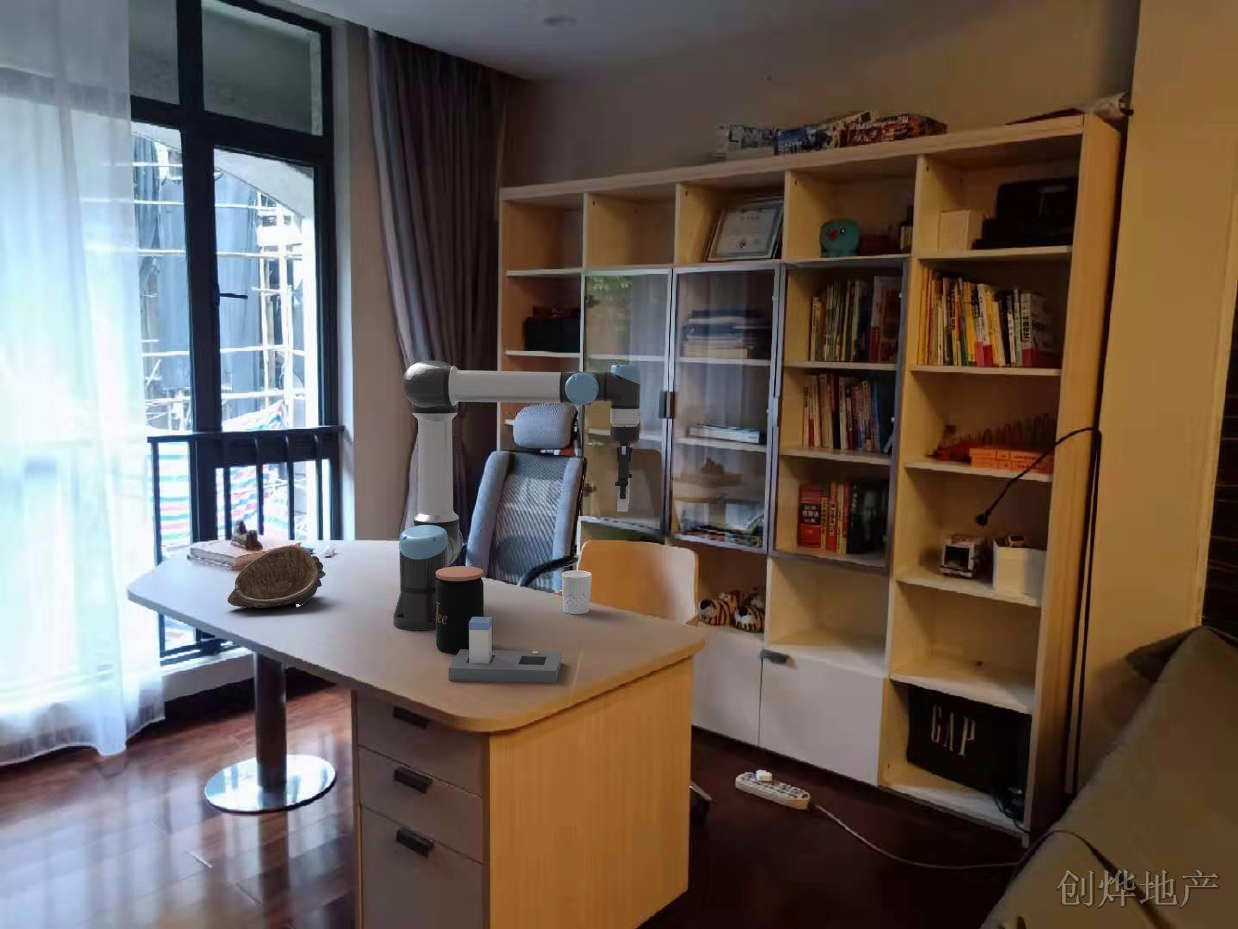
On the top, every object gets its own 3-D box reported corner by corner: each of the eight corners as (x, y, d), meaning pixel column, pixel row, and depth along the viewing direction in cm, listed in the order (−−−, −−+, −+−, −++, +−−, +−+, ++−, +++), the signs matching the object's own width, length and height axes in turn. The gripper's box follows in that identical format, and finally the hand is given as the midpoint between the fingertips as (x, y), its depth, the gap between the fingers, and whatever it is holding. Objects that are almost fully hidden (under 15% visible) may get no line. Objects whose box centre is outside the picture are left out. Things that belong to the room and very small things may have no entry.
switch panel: (448, 682, 187) (448, 666, 186) (460, 662, 198) (460, 648, 198) (555, 685, 186) (556, 669, 186) (561, 665, 198) (561, 650, 197)
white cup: (587, 616, 235) (587, 578, 234) (557, 614, 237) (558, 576, 236) (594, 608, 243) (594, 571, 242) (565, 606, 245) (565, 569, 244)
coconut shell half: (234, 621, 228) (332, 583, 238) (215, 569, 234) (311, 534, 244) (243, 642, 241) (336, 605, 250) (225, 592, 246) (316, 558, 256)
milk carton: (469, 673, 190) (468, 622, 189) (472, 667, 194) (472, 616, 193) (488, 674, 190) (488, 622, 189) (491, 667, 194) (491, 617, 193)
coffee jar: (438, 641, 213) (438, 566, 211) (485, 641, 214) (484, 565, 212) (433, 656, 202) (432, 577, 200) (482, 656, 203) (482, 577, 201)
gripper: (638, 429, 221) (637, 515, 224) (640, 421, 246) (638, 499, 249) (607, 428, 222) (606, 514, 224) (612, 421, 246) (611, 499, 249)
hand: (623, 507), depth 236 cm, fingers open, 13 cm apart
